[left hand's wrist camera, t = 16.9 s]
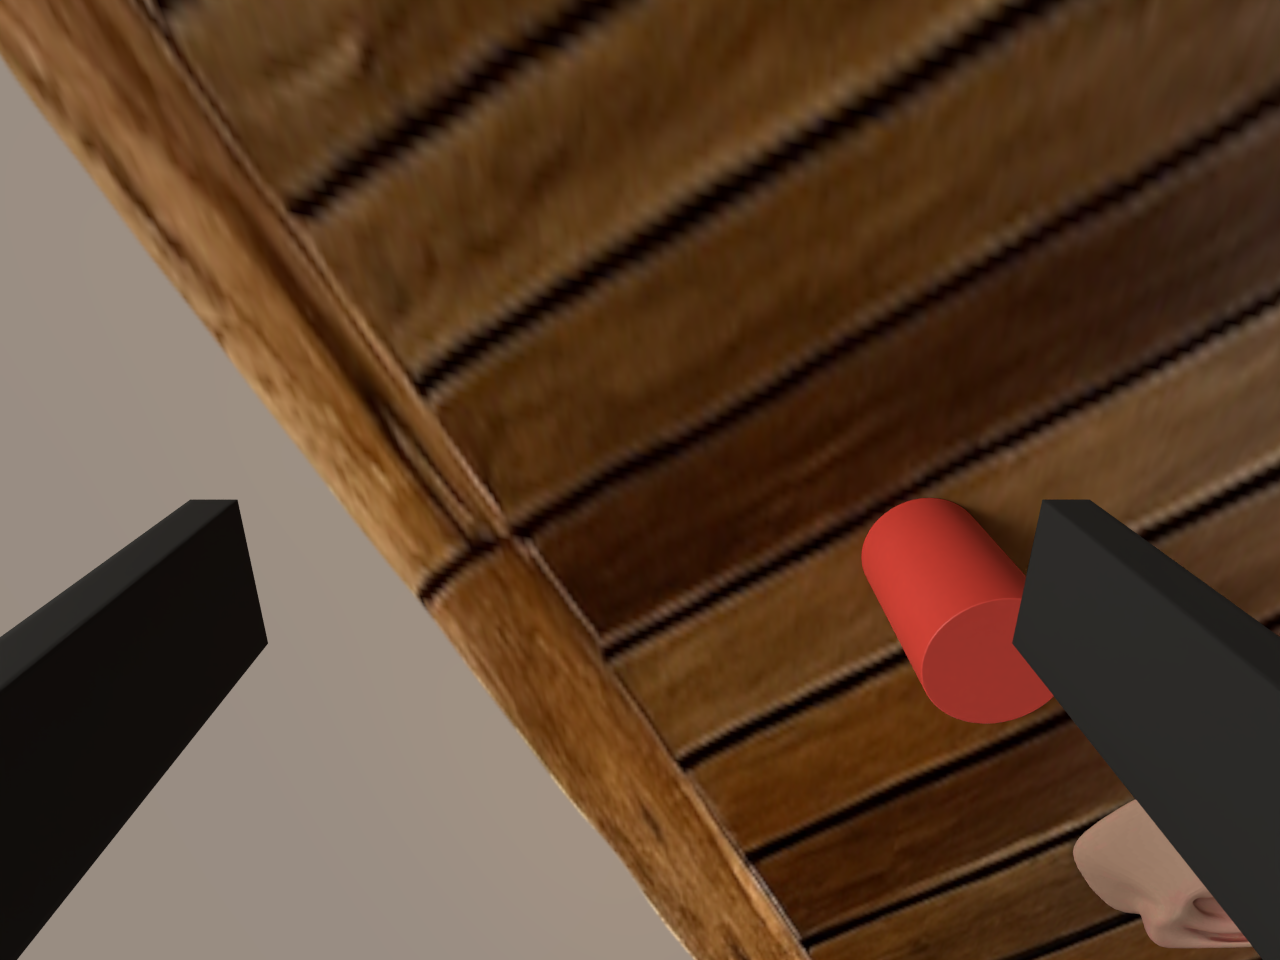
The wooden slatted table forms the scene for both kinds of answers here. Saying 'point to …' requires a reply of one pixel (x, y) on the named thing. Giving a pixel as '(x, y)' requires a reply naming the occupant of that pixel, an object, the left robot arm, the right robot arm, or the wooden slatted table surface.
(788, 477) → the wooden slatted table surface
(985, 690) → the canister
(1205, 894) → the anatomical model
